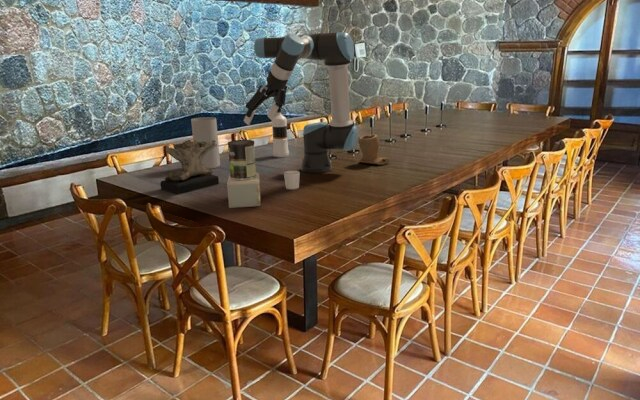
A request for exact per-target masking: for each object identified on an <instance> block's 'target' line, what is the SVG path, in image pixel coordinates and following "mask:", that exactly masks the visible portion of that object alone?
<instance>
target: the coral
mask: <svg viewBox="0 0 640 400" xmlns="http://www.w3.org/2000/svg"><path fill="white" fill-rule="evenodd" d="M183 144H184V146H185V147H186V148H185V149H184V147H183ZM216 146H217V144H216V141H215V140H213V141H212V142H211V143H210V142H208V143H207V142H203V141H202V142H197V141H196V140H194V142H193V141H191V139H188V140H185V141H183V142H182V144H179V143H178V144H175V145H173V146H172V147H173V148H172V147H169V146H166V148H165V152H166V153H167V154H168V155H170V156H171V157H172V158H173V159H175V160H176V161H178V162H179V163H180V165H181V170H180V171H177V172H176V171H172V172H169V173H167V175H166V177H165V178H164V180H161V181H160V190H161V191H164V192H168V193H172V194H175V195H178V196H179V195H182V194H186V193H191V192H194V191H197V190H201V189H202V190H203V189H204V188H205V189H206V188H209V187H214V186H217V185H219V183H220V182H219V181H220V180H219V176H218V175H215V174H213V172H214V171H213V169H211V168H206V167H205V166H204V165H201V161H202V158H203V157H204V156H205V154H206V153H207V152H209V151H210V150H211V149H213V148H214V147H216Z"/></svg>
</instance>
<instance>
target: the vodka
mask: <svg viewBox="0 0 640 400" xmlns="http://www.w3.org/2000/svg"><path fill="white" fill-rule="evenodd" d="M287 123H288V120H287V117H286V116H284V115H283V114H282V107H281V108H280V107H279V108H278V110H277V112H276V114H275V116H274V118H273V120H271V124H272V125H271V127H272V143H273V145H272V146H273V149H272V156H273V157H274V158H282V159H283V158H287V157H289V155H290V151H289V145H288V139H289V138H288V124H287Z"/></svg>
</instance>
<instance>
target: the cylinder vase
mask: <svg viewBox="0 0 640 400" xmlns="http://www.w3.org/2000/svg"><path fill="white" fill-rule="evenodd" d="M190 121H191V123H190V124H191V131H192V132H191V133H192V139H193V141H192V142H194V140H196V141H197V142H202V141H203V142H207V143H208V142H210V143H211V142H212V141H213V140H215V141H216V144H217V146H216V147H214V148H213V149H211V150H210V151H209V152H207V153H206V154H205V156H204V157H203V158H202V161H201V165H204V166H205V167H206V168H211V169H212V170H213V169H217V168H219V167H220V166H221V160H220V159H221V158H220V147H219V138H218V137H219V136H218V124H217V123H218V122H217V117H209V116H207V117H204V116H203V117H195V118H191V119H190Z"/></svg>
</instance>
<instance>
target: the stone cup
mask: <svg viewBox="0 0 640 400" xmlns="http://www.w3.org/2000/svg"><path fill="white" fill-rule="evenodd" d="M358 145H359V149H360V151H361V153H362V158H360V159H359V160H358V162H359V163H364V164H371V165H379V166H381V165H383V166H384V165H386V164H388V163H390V161H391V158H389V157H384V156H380V155H379V148H380V147H379V146H380V139H379V136H378V135H377V134H366V135H365V134H364V135H363V136H360V137H358Z"/></svg>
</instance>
